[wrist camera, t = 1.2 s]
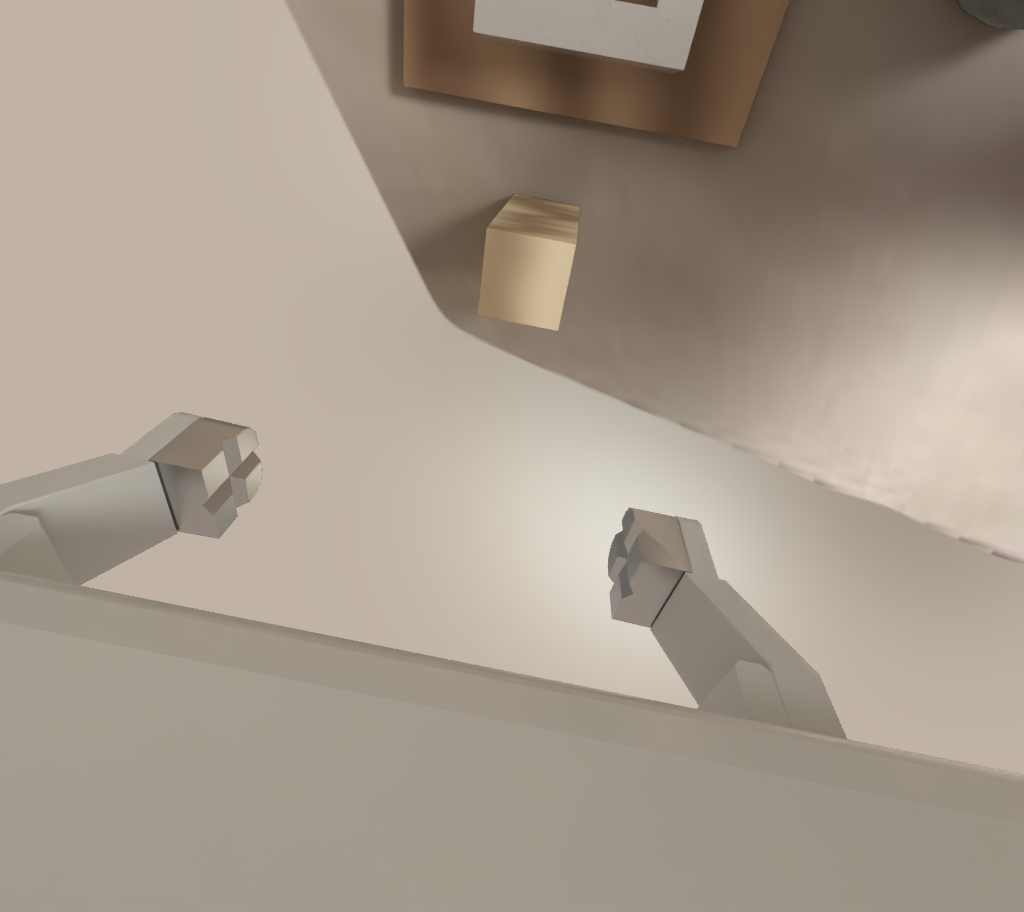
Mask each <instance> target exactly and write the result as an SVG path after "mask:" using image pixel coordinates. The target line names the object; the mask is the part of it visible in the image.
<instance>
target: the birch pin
mask: <svg viewBox="0 0 1024 912" xmlns="http://www.w3.org/2000/svg"><path fill="white" fill-rule="evenodd" d="M579 212H580V206H577V205H572V204H567V203H561V202H556V201H551V200H545V199H540V198H535V197H529V196H524V195H519V194H514V195H513V196H512V197H511V199H510V200H509V201H508V202H507V204H506V205H505V206H504V207H503V208H502V210H501V211H500V212H499V213H498V214H497V216H496V217H495V218H494V219H493V221H492V222H491V223H490V224H489V225H488V227H487V229H486V239H485V248H484V258H483V267H482V277H481V286H480V295H479V305H478V314H477V315H478V316H483V317H488V318H493V319H498V320H504V321H509V322H514V323H519V324H524V325H530V326H535V327H540V328H545V329H551V330H556V331H558V328H559V324H560V319H561V314H562V310H563V305H564V300H565V296H566V291H567V286H568V282H569V277H570V272H571V268H572V263H573V258H574V254H575V249H576V244H577V233H578V223H579Z"/></svg>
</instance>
